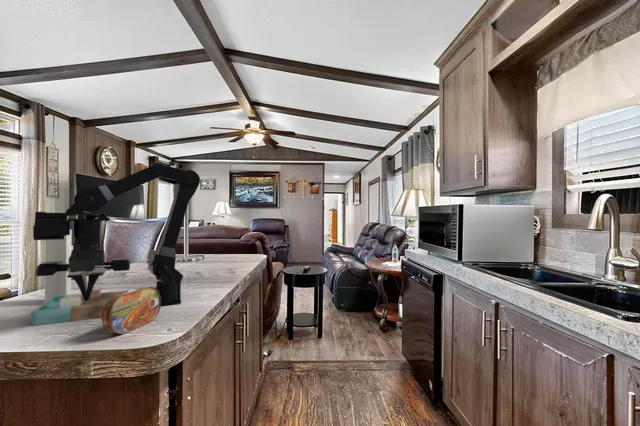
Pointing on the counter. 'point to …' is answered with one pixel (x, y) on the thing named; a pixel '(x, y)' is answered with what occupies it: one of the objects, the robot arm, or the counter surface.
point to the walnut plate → (92, 307)
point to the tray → (51, 312)
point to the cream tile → (71, 300)
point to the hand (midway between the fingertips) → (86, 300)
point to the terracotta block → (95, 292)
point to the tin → (131, 310)
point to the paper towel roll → (60, 281)
